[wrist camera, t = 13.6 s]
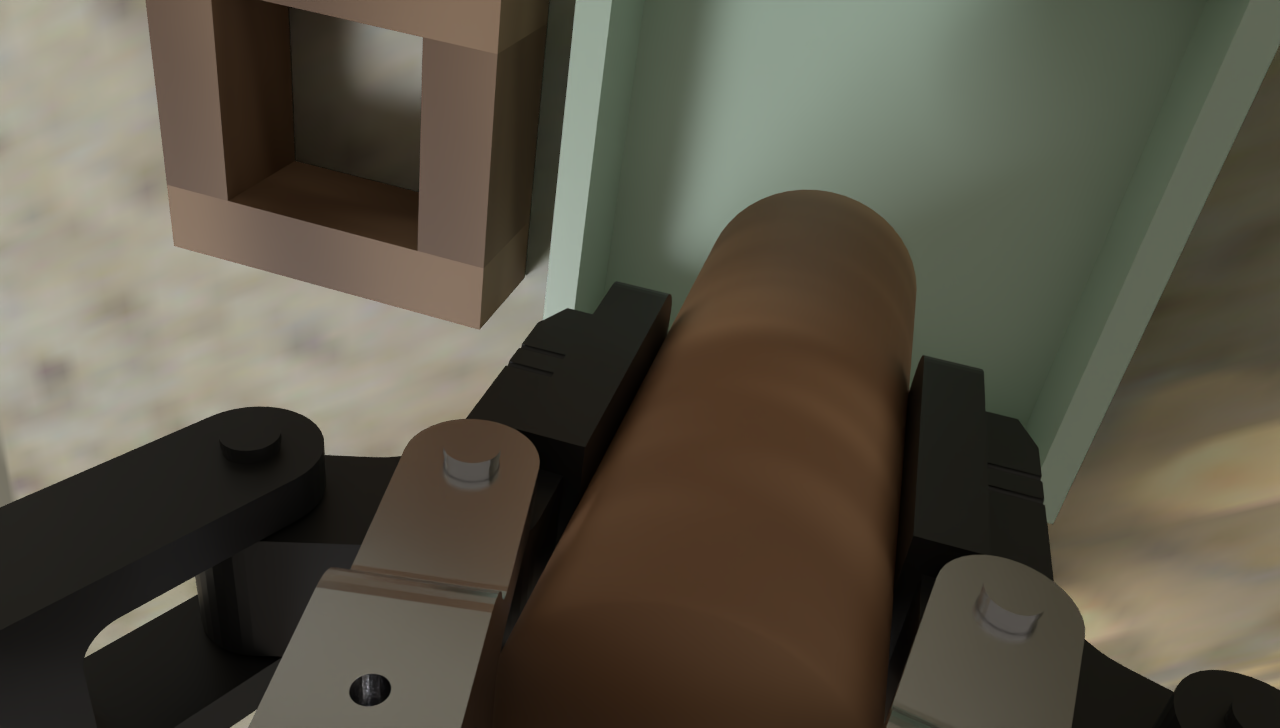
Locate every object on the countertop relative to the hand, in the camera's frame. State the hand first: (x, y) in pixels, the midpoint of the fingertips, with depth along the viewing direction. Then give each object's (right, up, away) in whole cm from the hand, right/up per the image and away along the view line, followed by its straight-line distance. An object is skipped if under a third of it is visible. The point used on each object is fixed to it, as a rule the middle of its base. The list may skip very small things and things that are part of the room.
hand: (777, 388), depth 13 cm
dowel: (+1, +1, +3) cm, 3 cm away
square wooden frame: (-7, +6, +9) cm, 13 cm away
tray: (+3, +4, +6) cm, 8 cm away
